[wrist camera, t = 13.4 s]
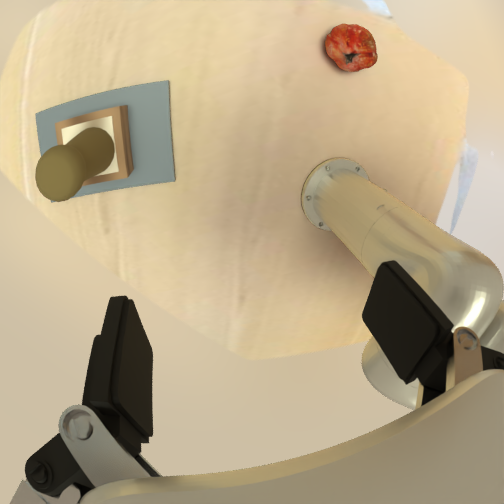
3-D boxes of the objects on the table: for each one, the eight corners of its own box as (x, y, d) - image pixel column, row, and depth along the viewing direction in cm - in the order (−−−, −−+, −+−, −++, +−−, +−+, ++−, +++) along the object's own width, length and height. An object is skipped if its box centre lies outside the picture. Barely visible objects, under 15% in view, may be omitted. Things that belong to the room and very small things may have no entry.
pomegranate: (326, 24, 28) (305, 41, 25) (368, 12, 23) (356, 25, 20) (348, 62, 33) (332, 86, 30) (388, 54, 28) (382, 77, 25)
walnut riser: (127, 105, 28) (119, 106, 24) (133, 169, 33) (127, 178, 29) (67, 119, 26) (54, 123, 23) (76, 180, 31) (65, 190, 28)
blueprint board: (168, 80, 28) (168, 80, 27) (175, 179, 36) (174, 181, 35) (38, 112, 25) (35, 113, 24) (53, 199, 32) (51, 202, 32)
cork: (87, 184, 28) (50, 223, 19) (63, 147, 25) (16, 173, 16) (123, 156, 28) (94, 186, 19) (99, 117, 24) (57, 129, 15)
